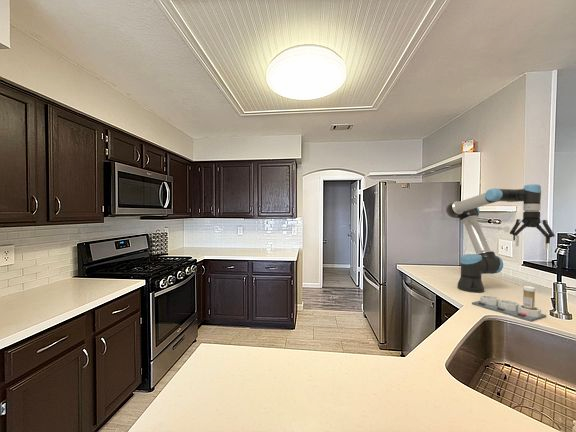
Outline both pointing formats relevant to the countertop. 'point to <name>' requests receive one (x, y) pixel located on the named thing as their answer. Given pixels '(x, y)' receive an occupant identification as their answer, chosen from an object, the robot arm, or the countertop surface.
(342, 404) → the countertop surface
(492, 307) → the breaker board
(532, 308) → the sprinkles bottle
